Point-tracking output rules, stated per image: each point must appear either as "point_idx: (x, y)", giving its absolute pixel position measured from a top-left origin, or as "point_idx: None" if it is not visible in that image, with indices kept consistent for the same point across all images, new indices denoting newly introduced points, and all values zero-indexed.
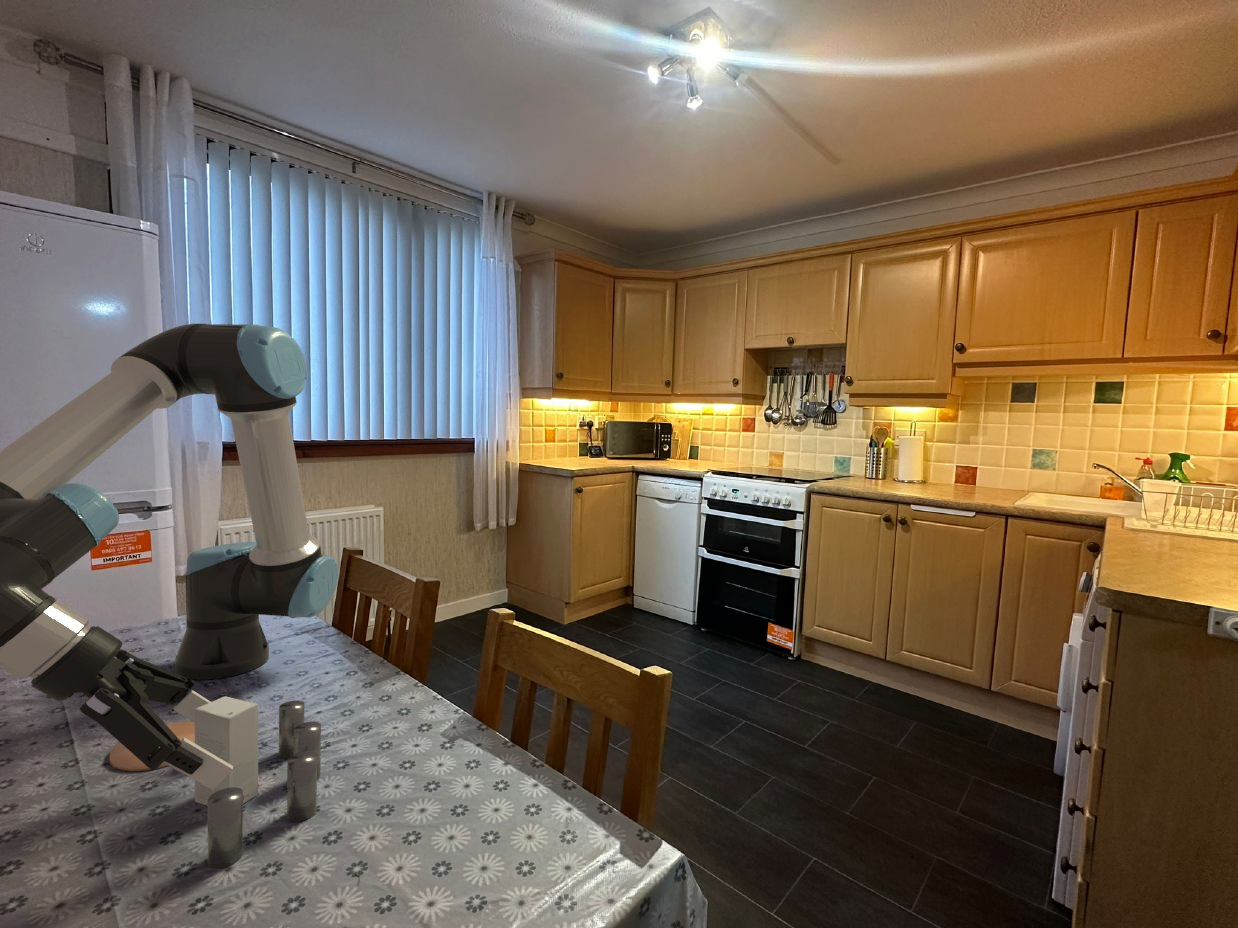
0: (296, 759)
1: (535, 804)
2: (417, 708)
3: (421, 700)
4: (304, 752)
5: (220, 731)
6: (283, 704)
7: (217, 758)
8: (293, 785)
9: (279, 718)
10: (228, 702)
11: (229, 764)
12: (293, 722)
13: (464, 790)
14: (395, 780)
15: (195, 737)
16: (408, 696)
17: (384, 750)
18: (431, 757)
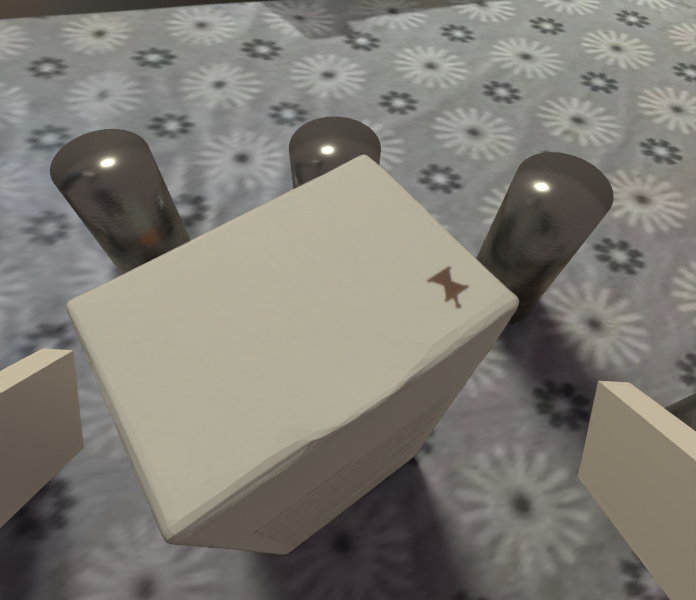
0: (567, 200)
1: (620, 13)
2: (162, 39)
3: (129, 26)
4: (523, 177)
5: (437, 389)
6: (64, 182)
7: (673, 427)
8: (572, 256)
9: (116, 225)
10: (228, 286)
11: (614, 390)
12: (168, 199)
13: (539, 62)
14: (449, 130)
15: (245, 544)
16: (85, 36)
17: (310, 119)
18: (394, 69)
